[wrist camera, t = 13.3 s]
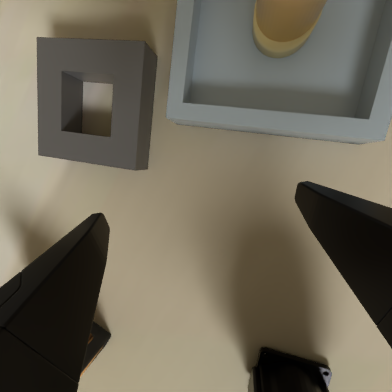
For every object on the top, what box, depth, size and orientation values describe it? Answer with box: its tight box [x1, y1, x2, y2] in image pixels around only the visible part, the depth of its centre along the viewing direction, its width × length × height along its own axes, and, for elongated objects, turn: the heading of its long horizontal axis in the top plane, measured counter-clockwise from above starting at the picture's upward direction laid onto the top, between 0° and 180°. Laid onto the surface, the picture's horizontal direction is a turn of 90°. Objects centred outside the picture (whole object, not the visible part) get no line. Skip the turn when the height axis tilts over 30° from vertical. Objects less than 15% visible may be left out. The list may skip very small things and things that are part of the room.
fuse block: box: [37, 37, 157, 170], centre depth 19 cm, size 10×10×2 cm
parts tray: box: [166, 0, 392, 144], centre depth 15 cm, size 15×15×3 cm
